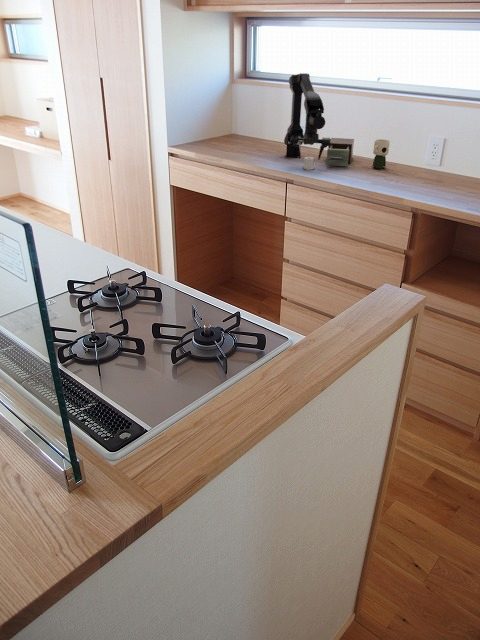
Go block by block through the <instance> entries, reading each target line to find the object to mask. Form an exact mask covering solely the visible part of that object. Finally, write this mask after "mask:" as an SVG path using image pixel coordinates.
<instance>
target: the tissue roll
mask: <svg viewBox="0 0 480 640" xmlns="http://www.w3.org/2000/svg"><path fill="white" fill-rule="evenodd" d="M303 159H304V160H303V169H304V170H306V171H310V170H314V169H315V157H312V156H306V157H304V158H303Z"/></svg>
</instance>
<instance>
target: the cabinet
mask: <svg viewBox="0 0 480 640" xmlns="http://www.w3.org/2000/svg"><path fill="white" fill-rule="evenodd" d="M330 139H331V144H330V146H327V149H329V148H330V147H331V145H346V146H350V147H349V159H348V165H350V164H351V163H352V160H353V154H354V143H355V139H354V138H344V137H343V138H341V137H330Z"/></svg>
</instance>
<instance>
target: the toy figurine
mask: <svg viewBox="0 0 480 640" xmlns="http://www.w3.org/2000/svg"><path fill="white" fill-rule="evenodd" d="M390 143H391V141H390V140H389V139H388V140H387V139H384V138H383V139H375V140H374V143H373V152H372V153H373V155H375V156H374V158H373V162H372V168H375V169H380V170H381V169H385V168H386V167H387V166H386V165H387V159H386V158H387V157H386V156H387V155H389V149H390Z"/></svg>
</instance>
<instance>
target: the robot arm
mask: <svg viewBox="0 0 480 640" xmlns="http://www.w3.org/2000/svg"><path fill="white" fill-rule="evenodd" d="M310 78H311V77H310V73H307V72H300V73H298V74H291V76H289V78H288V84H289V89H290V91H291V93H292V98H291V113H290V114H291V116H290V124H289V126H288V127H287V129H286V134H285V137H284V139H283V144H284V145H285V146H286V149H285V150H286V152H285V153H286V154H285V158H296V159H297V158H298V159H299V160H300V159H301V158H302V157H301V156H302V149H301V148H302V147H301V146H302V145H305V146H306V145H310V146H313V145H314V144H320V147H319V152H318V157H317V158H318V159H317V160H318V161H320V159H321V157H322V154H323V152H324V149H325V148H326V149H327V148H328V146H330V144H331V137H322V138H319V137H320V134H319V133H318V130H322V129H323V128H324V127H325V125H326V119H325V117H323V114H324V113H325V111H324V110H325V109H324V108H325V107H324V103H323V100H322V98H321V96H320V94H319V93H318V92H316V91H315V89H314V87H313V85H312V84H313V83H312V82H311V79H310ZM303 95H304V100H303V99H302V98H303ZM302 101H303V107H304V110H305V126H304V127H305V128H302V126H301V115H302V114H301V113H302Z"/></svg>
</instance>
